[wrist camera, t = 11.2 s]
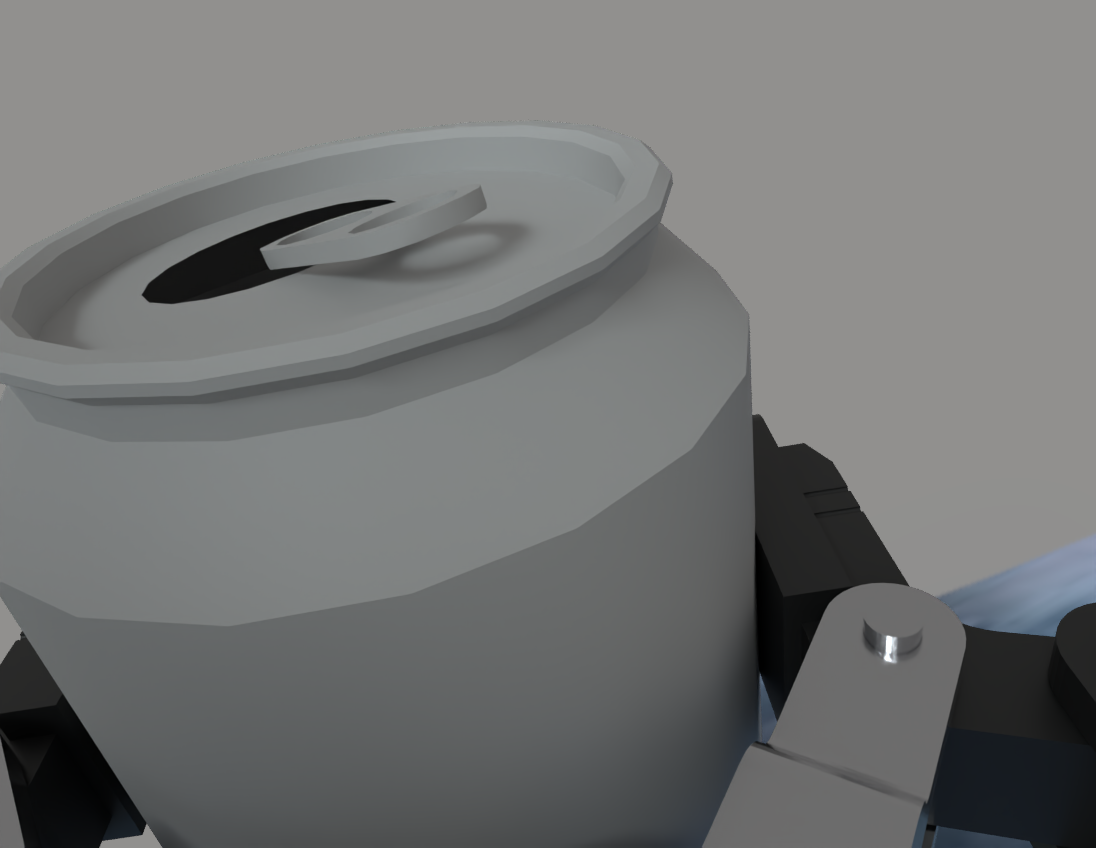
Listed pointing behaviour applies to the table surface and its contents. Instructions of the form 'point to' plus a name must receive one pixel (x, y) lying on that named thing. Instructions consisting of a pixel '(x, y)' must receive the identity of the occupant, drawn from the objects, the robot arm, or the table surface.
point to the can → (391, 496)
